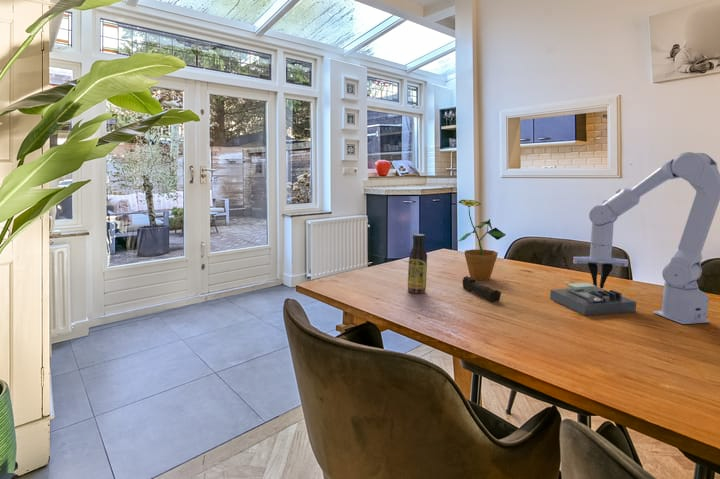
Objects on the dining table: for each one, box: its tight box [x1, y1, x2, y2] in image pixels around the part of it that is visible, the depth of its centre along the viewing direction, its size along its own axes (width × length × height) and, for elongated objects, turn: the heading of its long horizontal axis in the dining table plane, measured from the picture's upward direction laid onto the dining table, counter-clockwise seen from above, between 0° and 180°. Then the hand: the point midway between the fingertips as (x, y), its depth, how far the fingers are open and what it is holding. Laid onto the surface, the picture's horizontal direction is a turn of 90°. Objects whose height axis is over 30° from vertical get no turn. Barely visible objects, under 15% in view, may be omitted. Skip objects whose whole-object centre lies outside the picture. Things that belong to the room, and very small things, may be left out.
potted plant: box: [457, 199, 507, 281], centre depth 156 cm, size 18×19×30 cm
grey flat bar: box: [565, 287, 604, 302], centre depth 123 cm, size 12×3×1 cm, turn 9°
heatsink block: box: [549, 286, 637, 316], centre depth 124 cm, size 16×16×4 cm
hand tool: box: [462, 275, 502, 303], centre depth 137 cm, size 19×4×5 cm, turn 15°
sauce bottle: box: [407, 233, 428, 294], centre depth 140 cm, size 7×6×20 cm
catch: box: [566, 282, 596, 293], centre depth 128 cm, size 4×7×2 cm, turn 99°
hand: (598, 287), depth 129 cm, fingers closed
